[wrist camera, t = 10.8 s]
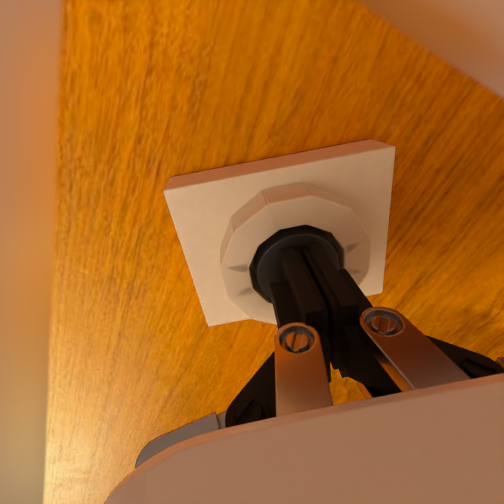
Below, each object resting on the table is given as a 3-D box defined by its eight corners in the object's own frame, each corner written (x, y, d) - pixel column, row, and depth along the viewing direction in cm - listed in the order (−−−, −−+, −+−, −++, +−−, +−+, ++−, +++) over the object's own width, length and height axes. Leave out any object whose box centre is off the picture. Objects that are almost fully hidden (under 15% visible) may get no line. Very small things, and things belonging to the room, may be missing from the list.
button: (258, 288, 14) (263, 311, 13) (246, 225, 13) (250, 243, 11) (327, 274, 15) (339, 296, 13) (325, 210, 13) (339, 226, 11)
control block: (209, 301, 18) (206, 353, 14) (169, 176, 14) (153, 205, 10) (365, 271, 18) (400, 315, 14) (372, 138, 14) (423, 153, 10)
